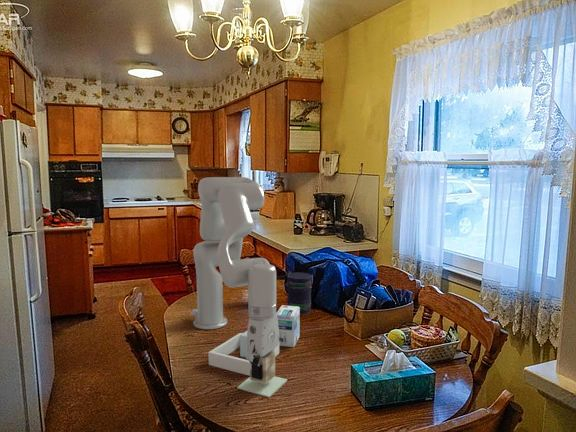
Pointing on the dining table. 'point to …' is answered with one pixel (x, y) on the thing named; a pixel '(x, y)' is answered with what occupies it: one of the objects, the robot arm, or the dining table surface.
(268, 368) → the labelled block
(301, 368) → the dining table surface
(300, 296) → the storage jar
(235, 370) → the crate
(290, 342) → the light bulb box
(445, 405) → the dining table surface
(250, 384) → the mat
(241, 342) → the plain block
